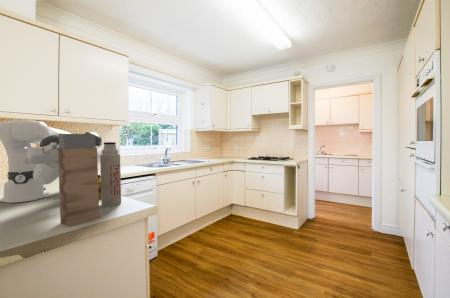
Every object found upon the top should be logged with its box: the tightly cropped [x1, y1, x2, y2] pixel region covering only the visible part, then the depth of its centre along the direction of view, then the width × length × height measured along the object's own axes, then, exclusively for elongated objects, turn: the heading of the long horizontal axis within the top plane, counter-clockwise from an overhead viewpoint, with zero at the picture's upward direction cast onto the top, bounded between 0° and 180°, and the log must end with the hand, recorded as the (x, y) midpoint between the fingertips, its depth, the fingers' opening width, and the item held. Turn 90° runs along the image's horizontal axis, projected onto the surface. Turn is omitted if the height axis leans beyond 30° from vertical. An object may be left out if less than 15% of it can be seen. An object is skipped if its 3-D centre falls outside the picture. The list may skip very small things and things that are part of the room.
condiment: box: [98, 174, 101, 200], centre depth 107 cm, size 7×8×12 cm
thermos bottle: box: [99, 141, 122, 207], centre depth 100 cm, size 8×8×28 cm
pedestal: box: [58, 148, 100, 227], centre depth 79 cm, size 6×10×26 cm, turn 147°
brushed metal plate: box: [59, 133, 96, 149], centre depth 81 cm, size 13×10×5 cm
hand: (68, 143), depth 82 cm, fingers open, 8 cm apart
